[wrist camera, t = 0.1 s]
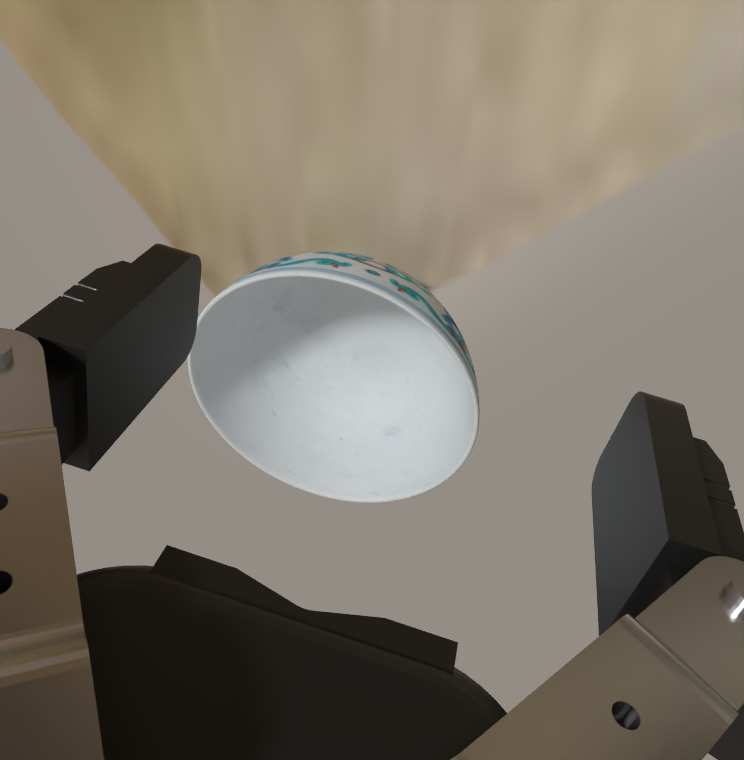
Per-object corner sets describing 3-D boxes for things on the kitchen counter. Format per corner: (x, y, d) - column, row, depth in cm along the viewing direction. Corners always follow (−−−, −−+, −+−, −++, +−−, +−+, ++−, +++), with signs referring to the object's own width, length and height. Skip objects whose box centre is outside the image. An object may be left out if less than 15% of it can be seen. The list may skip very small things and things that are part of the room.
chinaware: (333, 133, 34) (278, 206, 28) (556, 318, 38) (546, 415, 32) (204, 311, 44) (143, 392, 38) (391, 445, 47) (361, 537, 42)
